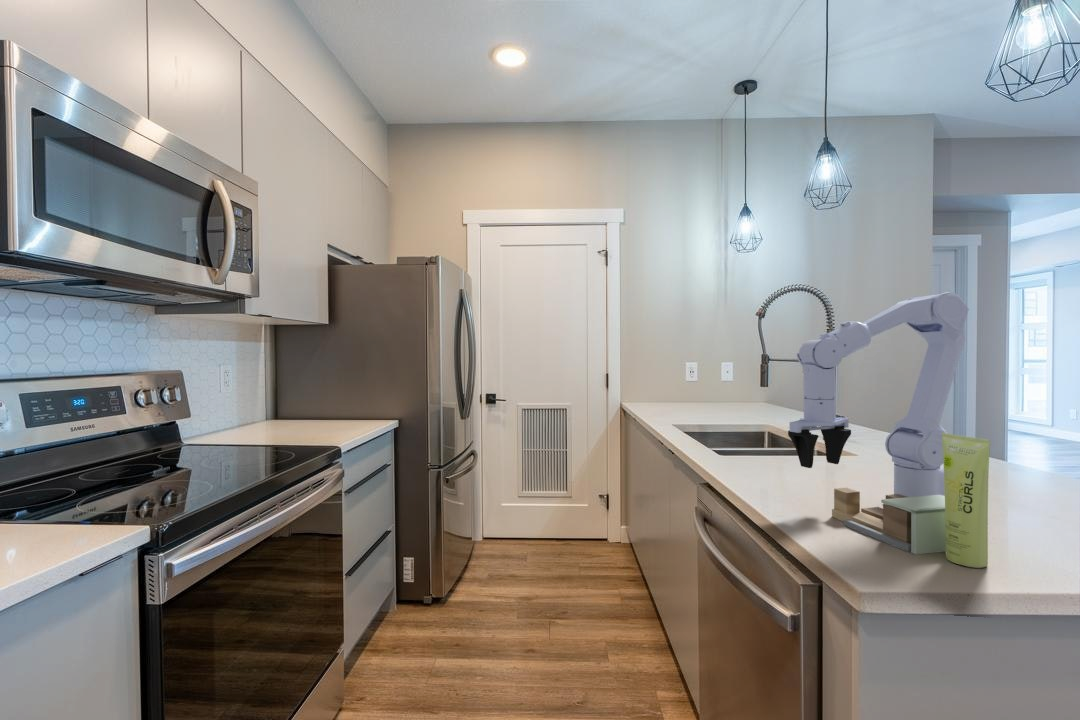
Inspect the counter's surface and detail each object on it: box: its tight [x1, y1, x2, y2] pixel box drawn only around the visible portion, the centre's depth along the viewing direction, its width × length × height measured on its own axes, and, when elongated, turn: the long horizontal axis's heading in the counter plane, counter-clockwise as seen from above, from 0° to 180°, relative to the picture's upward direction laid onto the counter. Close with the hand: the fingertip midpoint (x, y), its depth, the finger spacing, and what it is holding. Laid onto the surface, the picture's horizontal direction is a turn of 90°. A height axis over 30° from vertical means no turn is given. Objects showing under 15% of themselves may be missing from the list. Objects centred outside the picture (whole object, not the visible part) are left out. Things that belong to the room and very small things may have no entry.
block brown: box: [860, 493, 907, 520], centre depth 96 cm, size 4×8×6 cm, turn 12°
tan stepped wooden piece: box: [831, 487, 911, 544], centre depth 92 cm, size 4×16×6 cm, turn 12°
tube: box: [942, 432, 991, 569], centre depth 78 cm, size 6×5×20 cm
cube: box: [882, 503, 911, 539], centre depth 86 cm, size 4×4×4 cm
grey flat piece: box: [843, 519, 911, 553], centre depth 90 cm, size 13×13×2 cm
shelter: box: [880, 495, 946, 555], centre depth 85 cm, size 12×6×7 cm, turn 102°
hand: (819, 465), depth 103 cm, fingers open, 7 cm apart
